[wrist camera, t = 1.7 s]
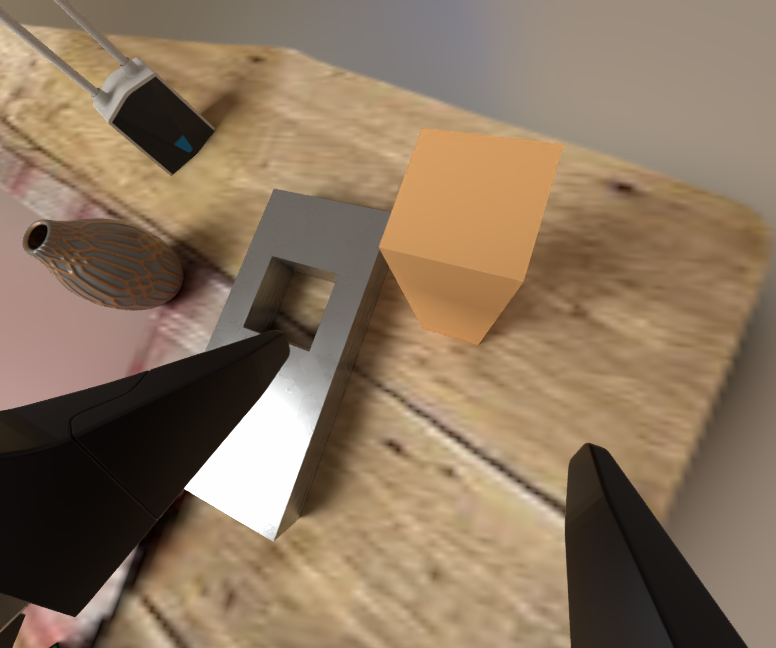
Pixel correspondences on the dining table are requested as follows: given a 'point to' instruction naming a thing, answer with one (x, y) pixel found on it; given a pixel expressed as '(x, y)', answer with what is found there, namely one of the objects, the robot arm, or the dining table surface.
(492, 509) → the dining table surface
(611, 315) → the dining table surface
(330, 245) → the rail
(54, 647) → the rubik's cube
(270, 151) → the dining table surface
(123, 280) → the vase
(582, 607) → the robot arm
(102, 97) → the padlock
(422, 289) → the peg
